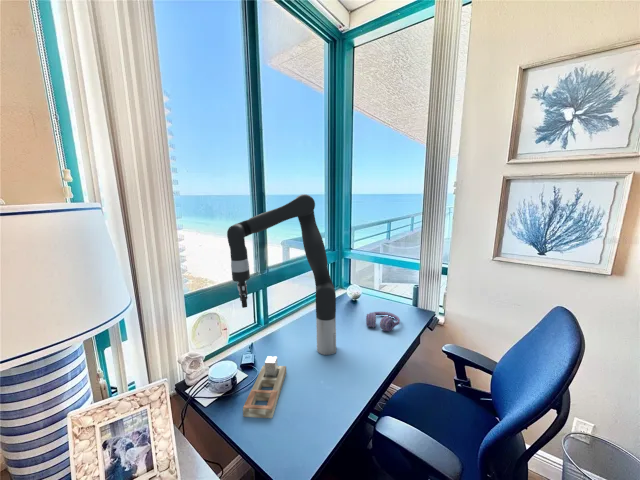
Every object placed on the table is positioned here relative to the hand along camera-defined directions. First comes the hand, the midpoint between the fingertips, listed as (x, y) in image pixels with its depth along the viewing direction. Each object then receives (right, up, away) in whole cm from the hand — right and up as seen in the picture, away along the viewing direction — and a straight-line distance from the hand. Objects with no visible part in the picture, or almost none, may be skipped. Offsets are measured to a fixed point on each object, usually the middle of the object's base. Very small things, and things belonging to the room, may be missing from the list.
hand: (243, 303), depth 117 cm
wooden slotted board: (+14, -29, -18) cm, 38 cm away
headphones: (+71, -20, +32) cm, 81 cm away
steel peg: (+15, -28, -12) cm, 34 cm away
